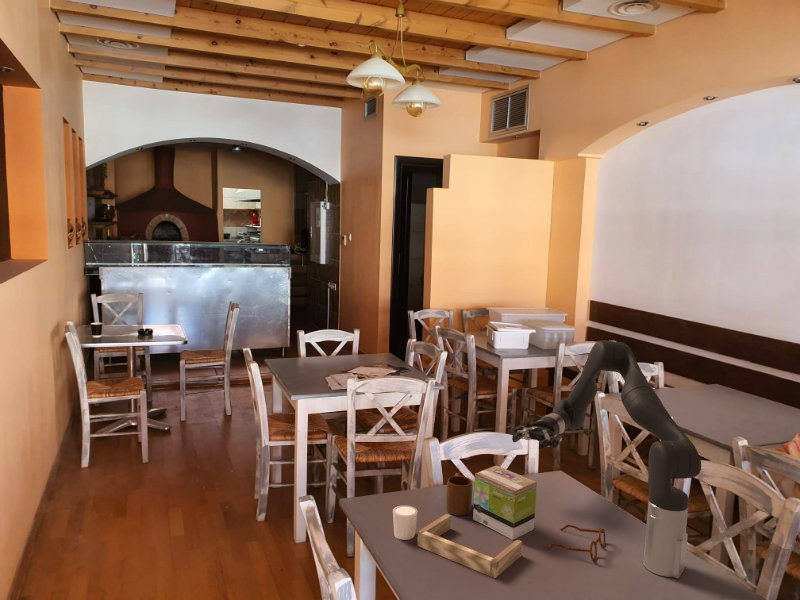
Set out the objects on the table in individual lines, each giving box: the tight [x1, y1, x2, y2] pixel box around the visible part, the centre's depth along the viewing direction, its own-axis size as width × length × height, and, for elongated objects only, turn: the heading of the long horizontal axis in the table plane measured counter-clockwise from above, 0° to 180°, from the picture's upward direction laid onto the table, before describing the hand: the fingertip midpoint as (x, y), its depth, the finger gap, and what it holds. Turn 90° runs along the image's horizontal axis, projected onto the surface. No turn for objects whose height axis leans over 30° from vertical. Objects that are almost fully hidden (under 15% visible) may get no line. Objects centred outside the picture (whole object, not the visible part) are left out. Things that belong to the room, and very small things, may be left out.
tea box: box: [472, 464, 538, 541], centre depth 180 cm, size 15×10×15 cm, turn 42°
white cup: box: [392, 505, 419, 541], centre depth 173 cm, size 7×7×7 cm
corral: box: [416, 513, 523, 579], centre depth 166 cm, size 24×14×4 cm, turn 52°
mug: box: [445, 472, 473, 517], centre depth 191 cm, size 12×8×9 cm, turn 1°
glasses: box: [543, 524, 606, 562], centre depth 170 cm, size 13×13×5 cm
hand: (526, 442), depth 188 cm, fingers open, 8 cm apart
